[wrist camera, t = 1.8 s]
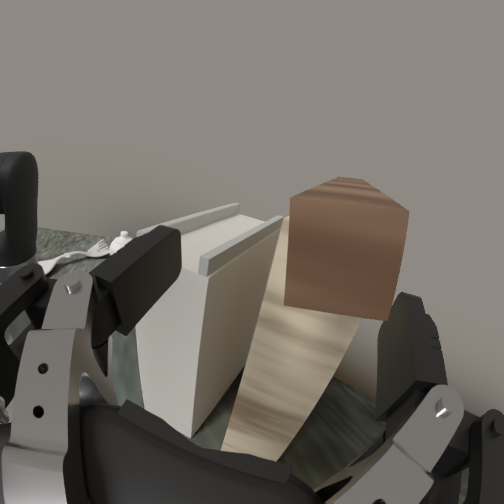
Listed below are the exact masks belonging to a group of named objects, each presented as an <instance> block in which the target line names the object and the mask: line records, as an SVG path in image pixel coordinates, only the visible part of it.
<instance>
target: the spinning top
mask: <svg viewBox="0 0 504 504" xmlns="http://www.w3.org/2000/svg"><path fill="white" fill-rule="evenodd" d="M132 239H133V238H131V237H128V232H126V231H122V232H121V236H120V237H117V238H115V239H114V241H113V242H112V243H111V245H110V255H112V254H114V253H116V252H117V251H118V250H119V249H120V248H121V247H124V245H125V244H127V243H128V242H130V241H131V240H132Z"/></svg>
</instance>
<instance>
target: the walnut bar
mask: <svg viewBox="0 0 504 504" xmlns="http://www.w3.org/2000/svg"><path fill="white" fill-rule="evenodd" d="M408 217H409V211H408V210H406V209H405V208H404V207H402V206H401V205H399V204H398V203H397V202H395V201H394V200H392V199H391V198H389V197H388V196H387V195H385V194H384V193H382V192H381V191H379V190H378V189H376V188H375V187H373V186H372V185H370V184H368V183H367V182H365V181H364V180H362V179H353V178H343V177H337V178H335V179H333V180H331V181H328V182H325V183H323V184H321V185H319V186H316V187H314V188H311V189H309V190H307V191H304V192H302V193H300V194H297V195H295V196H293V197H291V198H290V215H289V233H288V250H287V265H286V280H285V293H284V306H289V307H295V308H301V309H307V310H313V311H320V312H326V313H332V314H339V315H346V316H353V317H360V318H368V319H375V320H383V321H388V317H389V314H390V310H391V306H392V302H393V298H394V294H395V289H396V285H397V281H398V276H399V272H400V266H401V261H402V256H403V250H404V245H405V238H406V232H407V225H408Z"/></svg>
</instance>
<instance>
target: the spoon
mask: <svg viewBox="0 0 504 504" xmlns="http://www.w3.org/2000/svg"><path fill="white" fill-rule="evenodd" d="M104 241H105V239H102V240H101V241H99V242H98V243H97V244H96V245H95V246H93V247H92V248H90V249H89V250H88V251H87V252H82V251H75V252H70V253H65V254H64V255H61V256H59V257H57V258H55V259H51V260H46V261H40V262H38V264H40V265H41V266H42V267H43V270H44V273H45V275H46V274H48V273H49V272H50V271H51V270H52V269H53V268H54V266H55V265H56V263H57V262H58V261H60V260H62V259H64V258H71V257H72V256H75V255H84V256H88V257H101V256H104V255H107V254H110V248H109V247H110V246H107V244H105V243H106V242H104ZM104 244H105V245H104ZM106 246H107V247H106ZM104 247H105V248H104ZM108 248H109V249H108Z"/></svg>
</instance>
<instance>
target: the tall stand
mask: <svg viewBox="0 0 504 504" xmlns="http://www.w3.org/2000/svg"><path fill="white" fill-rule="evenodd" d="M288 233H289V216H287V217H286V218H284V219H283V222H282V226H281V230H280V234H279V238H278V242H277V246H276V251H275V255H274V259H273V263H272V267H271V270H270V274H269V278H268V282H267V286H266V290H265V294H264V298H263V302H262V305H261V309H260V313H259V317H258V321H257V324H256V328H255V332H254V336H253V339H252V343H251V347H250V350H249V354H248V358H247V361H246V365H245V368H244V372H243V376H242V379H241V383H240V386H239V390H238V393H237V397H236V400H235V404H234V407H233V411H232V414H231V417H230V421H229V424H228V428H227V431H226V434H225V438H224V441H223V444H222V448H221V451H228V452H236V453H247V454H251V455H254V456H257V457H261V458H264V459H268V460H272V461H275V462H276V461H277V460H278V459H279V457H280V456H281V455H282V453H283V452H284V451H285V449H286V448H287V447H288V445H289V444H290V442H291V441H292V440H293V438H294V437H295V435H296V434H297V432H298V431H299V430H300V428H301V427H302V425H303V424H304V422H305V421H306V419H307V418H308V416H309V415H310V413H311V411H312V410H313V408H314V407H315V405H316V403H317V402H318V400H319V399H320V397H321V395H322V394H323V392H324V390H325V389H326V387H327V385H328V383H329V382H330V380H331V378H332V376H333V375H334V373H335V371H336V369H337V368H338V366H339V364H340V362H341V360H342V358H343V356H344V354H345V353H346V351H347V349H348V347H349V345H350V343H351V341H352V339H353V337H354V334H355V333H356V331H357V329H358V327H359V324H360V322H361V320H362V318H360V317H353V316H346V315H339V314H332V313H326V312H320V311H313V310H307V309H301V308H295V307H289V306H284V293H285V280H286V265H287V250H288Z"/></svg>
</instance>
